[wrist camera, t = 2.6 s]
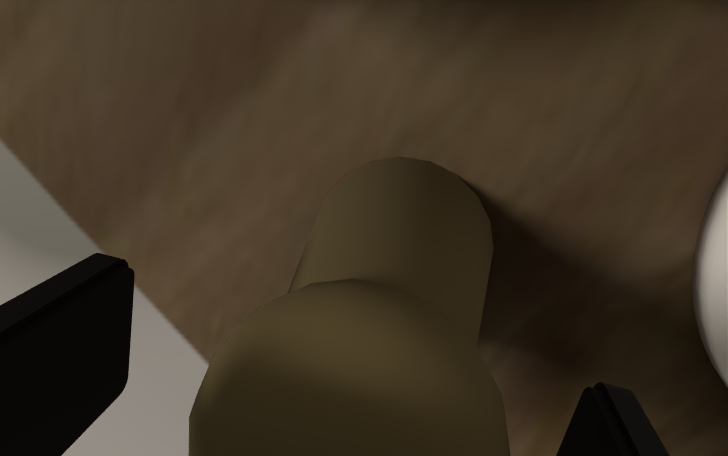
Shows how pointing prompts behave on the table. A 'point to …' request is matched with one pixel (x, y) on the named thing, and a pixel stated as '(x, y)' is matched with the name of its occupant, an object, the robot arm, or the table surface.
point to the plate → (713, 279)
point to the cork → (367, 333)
